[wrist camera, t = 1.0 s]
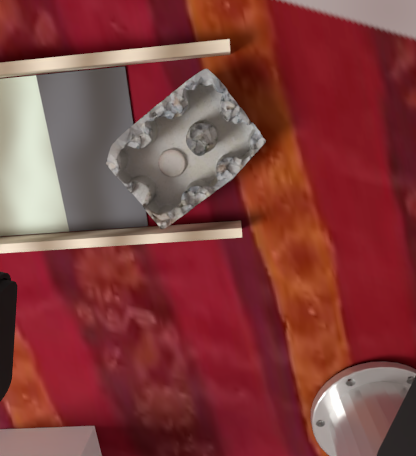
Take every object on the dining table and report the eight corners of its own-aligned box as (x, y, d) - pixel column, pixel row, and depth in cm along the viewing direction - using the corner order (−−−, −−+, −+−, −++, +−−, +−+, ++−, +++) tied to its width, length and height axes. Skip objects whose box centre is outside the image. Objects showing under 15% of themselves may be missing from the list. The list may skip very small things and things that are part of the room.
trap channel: (229, 42, 29) (229, 38, 27) (241, 229, 33) (242, 237, 31) (-171, 83, 31) (-197, 83, 29) (-108, 252, 36) (-127, 261, 34)
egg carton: (165, 221, 33) (158, 237, 29) (107, 150, 32) (91, 158, 28) (268, 145, 31) (275, 152, 27) (211, 63, 29) (209, 59, 25)
